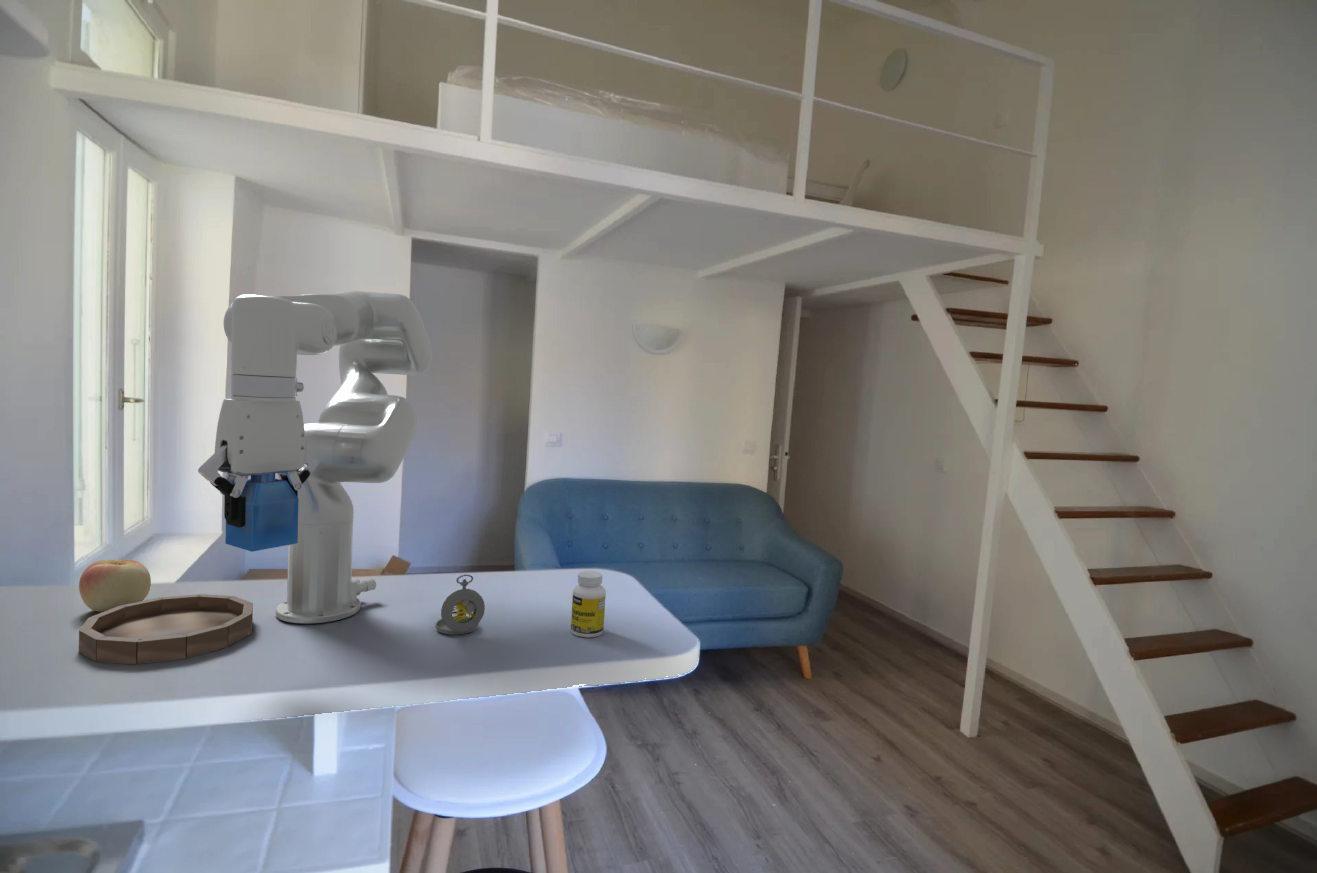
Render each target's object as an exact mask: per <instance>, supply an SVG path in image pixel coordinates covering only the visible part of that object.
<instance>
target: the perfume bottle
mask: <svg viewBox="0 0 1317 873" xmlns="http://www.w3.org/2000/svg"><path fill="white" fill-rule="evenodd" d="M241 496H242V497H245V499H246V503H245V525H244V527H235V526H232V525H228V524H227V522H226V521H225V541H224V542H225V544H226V545H228V546H232V547H236V548H239V549H242V550H245V551H248V552H257V551H258V552H259V551H263V550H267V549H268V550H269V549H274V548H280V547H284V546H289V545H291V544H296V543H298V504H299V499H298V497H297V496H296V494H295V493H294V492H293V490H292V489H291V487H290V486H289V484H288V483H287V481H284V480H280V479H279V478H276V473H274V474H271V473H266V474H263V475H251V476H250V478H248V479H247V482H246V484H245V486H244V488H243V491H242V493H241Z"/></svg>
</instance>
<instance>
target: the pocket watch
mask: <svg viewBox="0 0 1317 873" xmlns="http://www.w3.org/2000/svg"><path fill="white" fill-rule="evenodd" d="M462 577H463V579H462V581H461V582H460V581H459V579H461V578H462ZM464 577H470V578H471V579H470V580H469V581H467V579H466V578H464ZM473 580H474V577H473V576H472V575H471V574H462V575H460V576H458V577H457V578H456V581H455V582H456V583H457V584H460V586H461V587H462V589H457V590H456V591H454V592H452V593H450V594H449V595H448V596H447V597H446V598H445V600H444V601H443V603H442V606H441V609H440V610H441V611H440V612H441V613H440V617H441V619H439V620H437V621H436V622H435V623H434V624H435V626H434V627H435V628H434V629H435V630H436V631H437V632H439V633H442V634H446V635H464V634H468V633H471V632H474V631H475V630H476V629H477V628H478V627H479V624H480V622H481V621H482V619H483V618H484V615H485V614H484V613H485V609H486V607H485V601H484V599H483V597H482V596H481V594H480V593H479V592H478V591H476V590H474V589H470V588H467V586H468V585H469V584H470V583H472V582H473ZM453 614H454V616H453Z"/></svg>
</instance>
